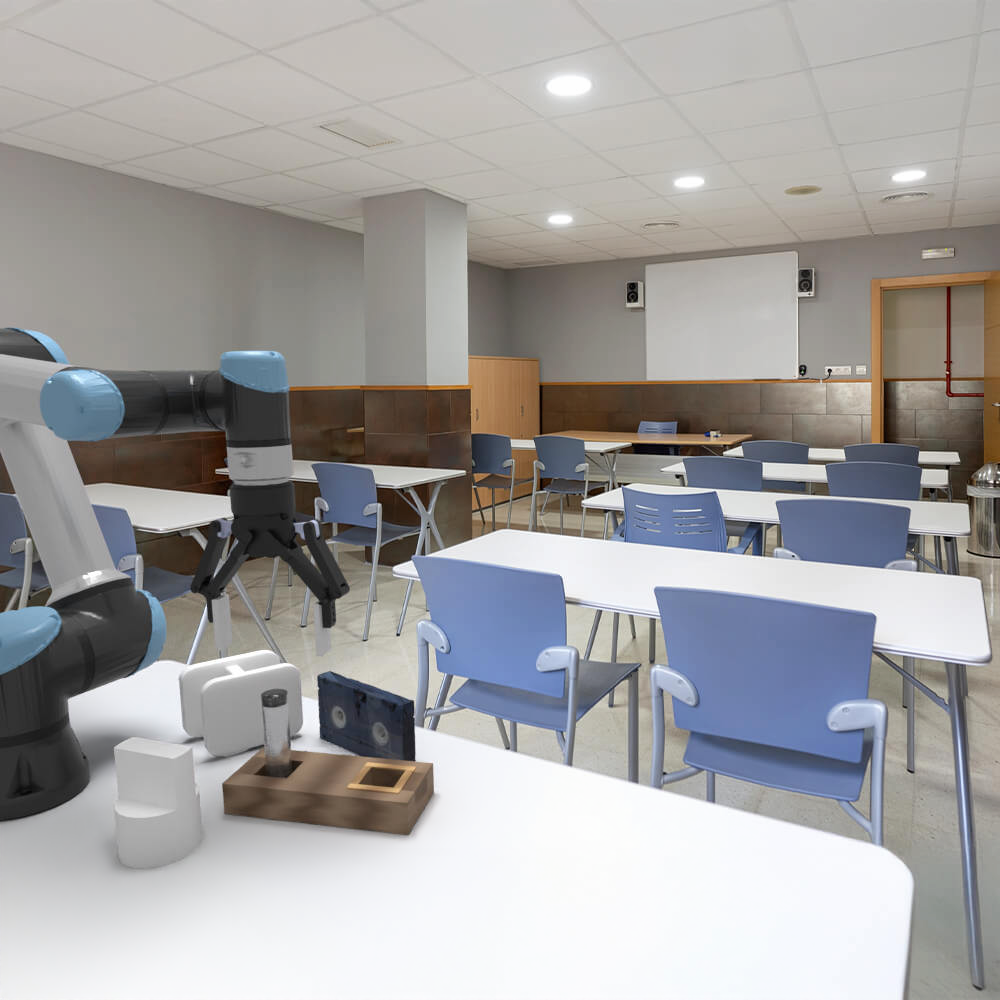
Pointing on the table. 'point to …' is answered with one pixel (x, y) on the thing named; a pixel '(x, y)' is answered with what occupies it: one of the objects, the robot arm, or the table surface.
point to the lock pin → (276, 733)
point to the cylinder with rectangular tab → (156, 803)
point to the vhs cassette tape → (365, 718)
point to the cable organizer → (236, 699)
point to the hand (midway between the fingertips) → (273, 650)
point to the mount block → (333, 791)
